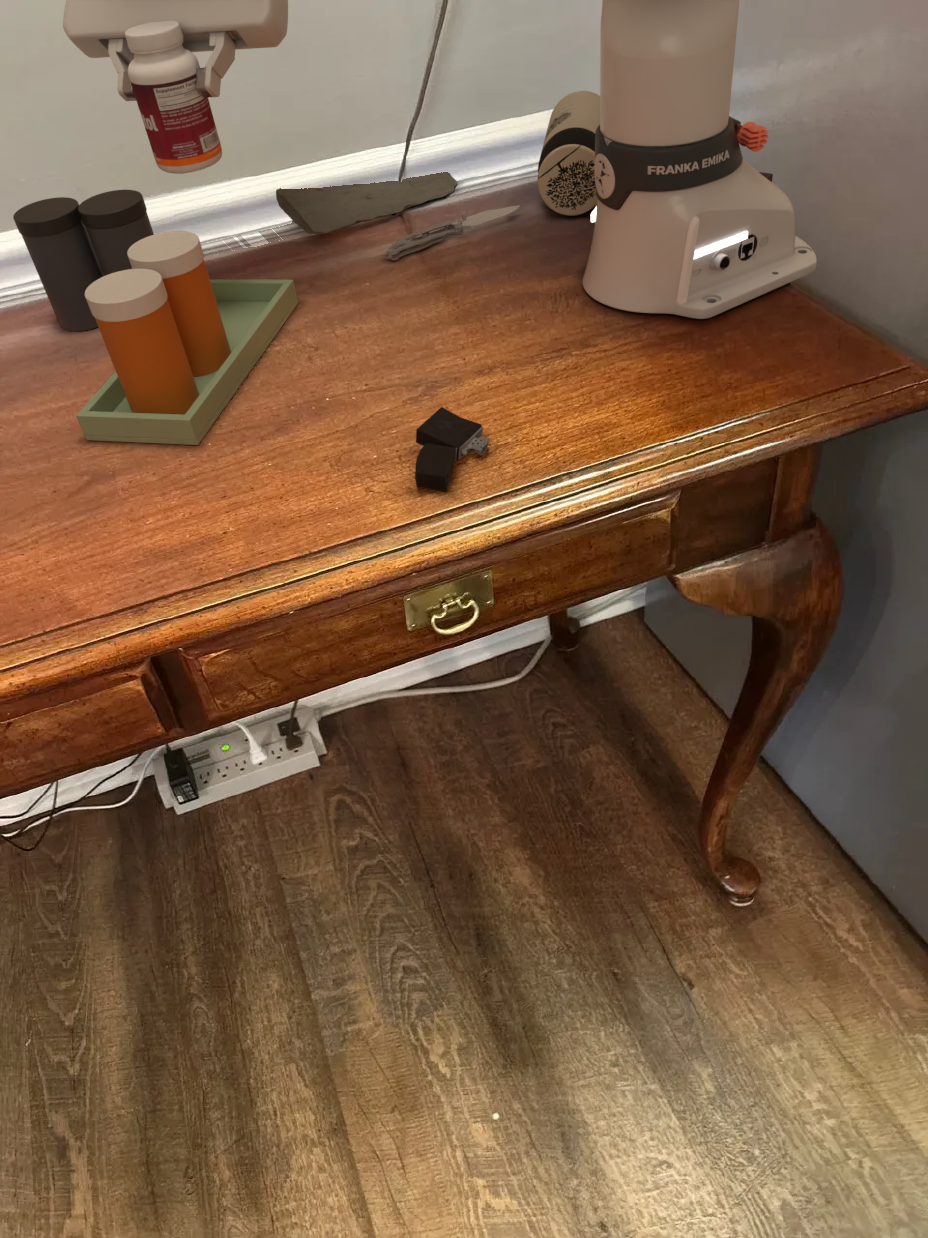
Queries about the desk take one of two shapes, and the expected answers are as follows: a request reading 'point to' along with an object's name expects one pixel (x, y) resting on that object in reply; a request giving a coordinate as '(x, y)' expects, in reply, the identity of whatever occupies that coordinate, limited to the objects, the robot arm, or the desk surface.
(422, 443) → the lighter
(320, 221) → the stone slab
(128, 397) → the bottle
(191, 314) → the bottle
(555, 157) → the travel mug
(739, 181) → the robot arm
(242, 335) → the tray
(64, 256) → the grey canister
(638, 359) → the desk surface
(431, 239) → the knife
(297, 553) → the desk surface
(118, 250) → the grey canister
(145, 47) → the pill bottle
